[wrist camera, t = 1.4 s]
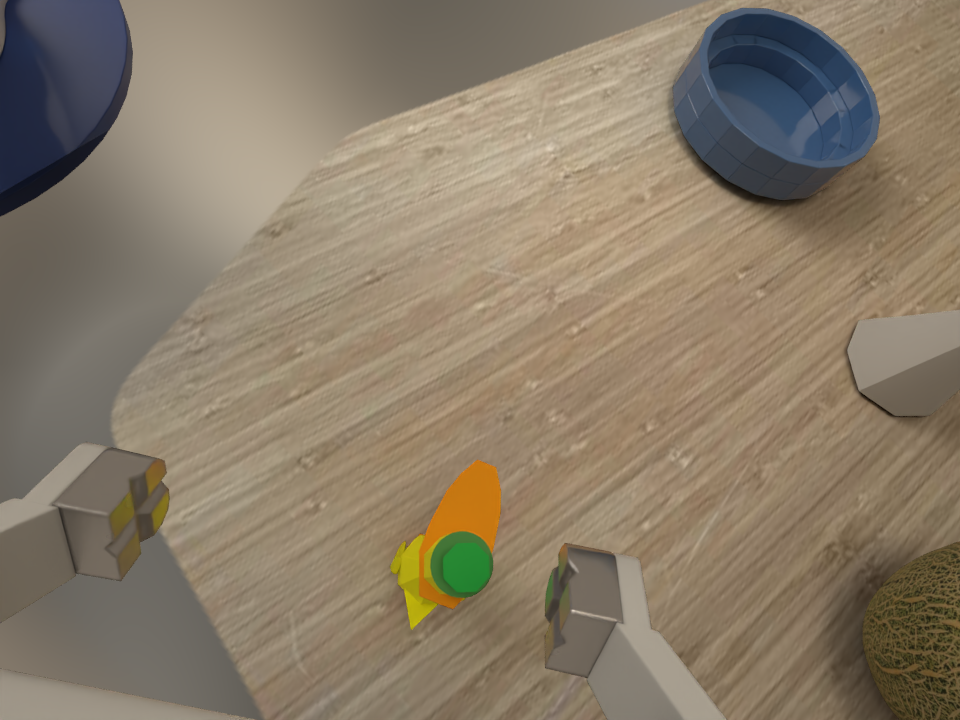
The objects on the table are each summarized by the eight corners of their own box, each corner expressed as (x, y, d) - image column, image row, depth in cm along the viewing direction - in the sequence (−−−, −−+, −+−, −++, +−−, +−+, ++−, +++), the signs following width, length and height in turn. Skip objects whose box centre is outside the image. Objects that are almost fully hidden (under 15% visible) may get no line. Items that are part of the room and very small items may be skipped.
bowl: (633, 115, 44) (663, 67, 40) (723, 30, 50) (758, -20, 46) (784, 240, 43) (831, 204, 39) (858, 138, 49) (906, 97, 45)
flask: (844, 306, 42) (983, 229, 33) (933, 339, 43) (1093, 272, 34) (843, 400, 40) (995, 344, 30) (938, 433, 40) (1114, 388, 31)
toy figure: (420, 480, 32) (463, 425, 21) (482, 505, 32) (558, 464, 21) (367, 611, 29) (386, 626, 18) (435, 637, 29) (495, 669, 18)
